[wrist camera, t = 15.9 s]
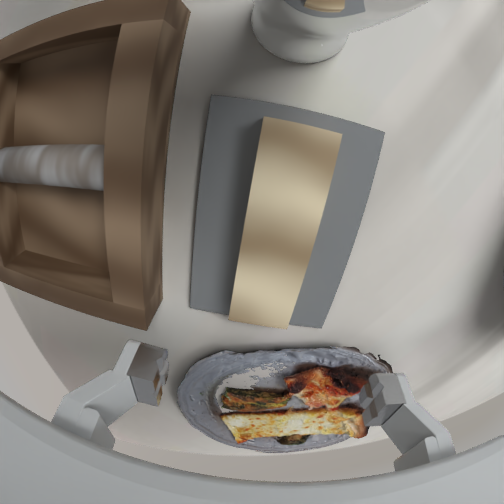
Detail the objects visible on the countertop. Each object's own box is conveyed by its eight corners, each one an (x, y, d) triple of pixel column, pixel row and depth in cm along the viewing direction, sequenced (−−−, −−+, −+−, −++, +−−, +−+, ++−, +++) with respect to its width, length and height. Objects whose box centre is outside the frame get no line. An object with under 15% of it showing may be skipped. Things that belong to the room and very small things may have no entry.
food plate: (417, 321, 22) (430, 347, 19) (370, 430, 33) (373, 449, 30) (156, 333, 25) (143, 359, 22) (208, 435, 36) (204, 454, 33)
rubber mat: (212, 95, 15) (211, 94, 15) (382, 131, 15) (384, 132, 15) (191, 304, 22) (190, 307, 22) (320, 325, 23) (321, 328, 22)
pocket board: (13, 49, 12) (-17, 49, 8) (190, 12, 12) (171, -11, 9) (18, 260, 22) (-4, 279, 18) (162, 298, 22) (146, 330, 19)
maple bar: (264, 116, 15) (263, 116, 14) (335, 132, 15) (342, 134, 14) (231, 304, 22) (228, 320, 20) (286, 313, 22) (286, 329, 20)
